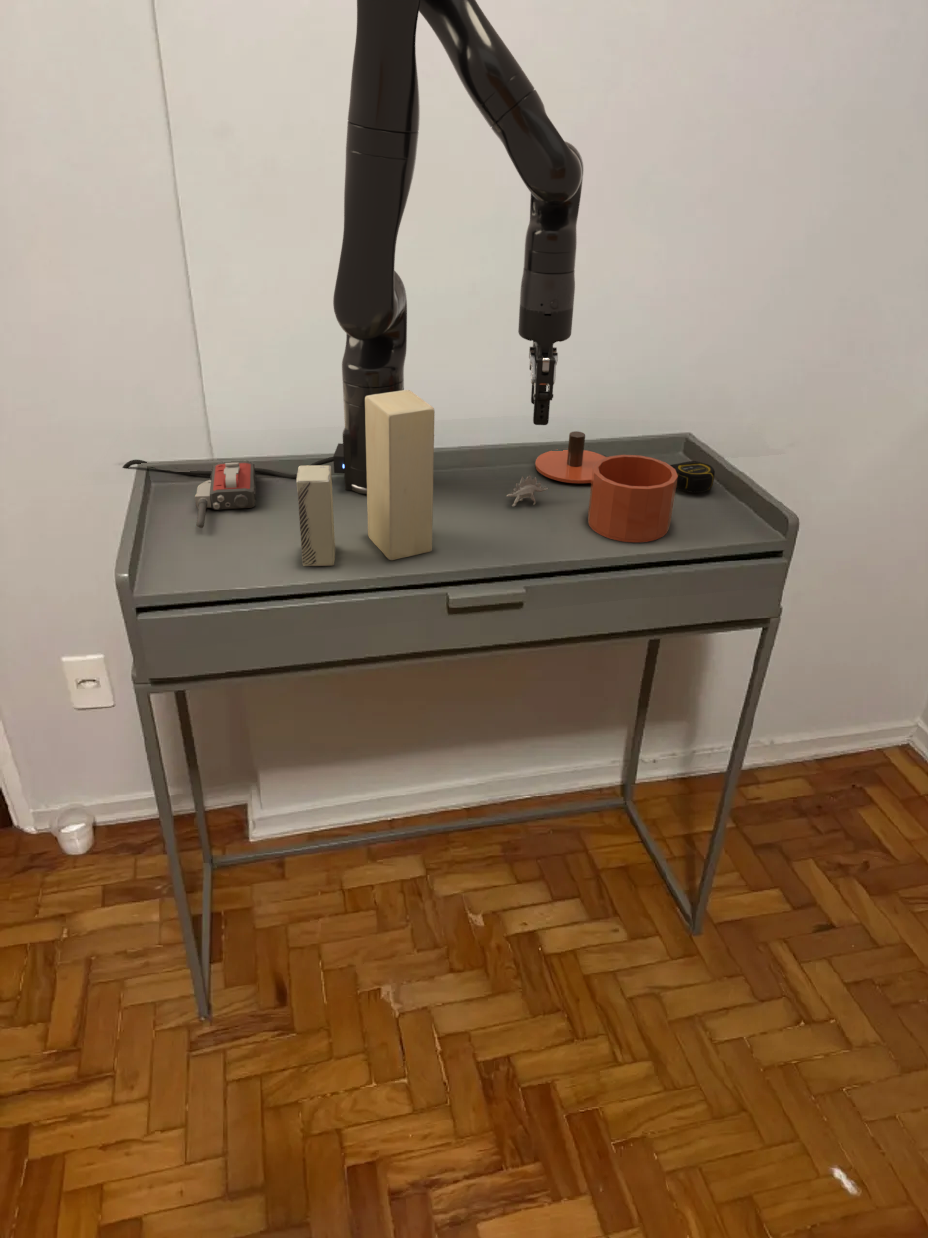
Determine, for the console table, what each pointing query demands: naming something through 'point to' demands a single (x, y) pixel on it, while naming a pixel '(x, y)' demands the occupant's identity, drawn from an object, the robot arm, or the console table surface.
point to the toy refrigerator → (399, 472)
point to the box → (316, 515)
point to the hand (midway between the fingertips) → (539, 413)
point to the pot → (631, 498)
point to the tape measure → (694, 476)
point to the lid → (569, 461)
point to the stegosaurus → (526, 489)
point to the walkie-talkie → (227, 488)
